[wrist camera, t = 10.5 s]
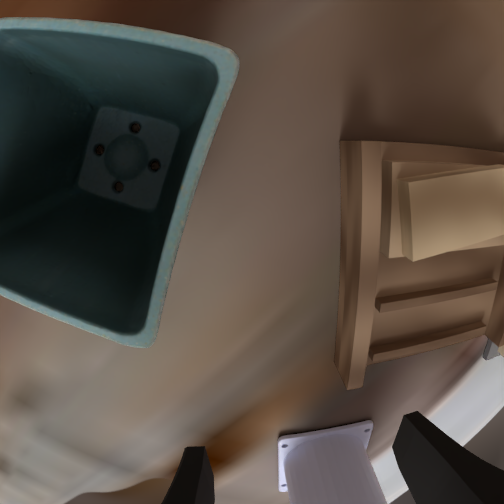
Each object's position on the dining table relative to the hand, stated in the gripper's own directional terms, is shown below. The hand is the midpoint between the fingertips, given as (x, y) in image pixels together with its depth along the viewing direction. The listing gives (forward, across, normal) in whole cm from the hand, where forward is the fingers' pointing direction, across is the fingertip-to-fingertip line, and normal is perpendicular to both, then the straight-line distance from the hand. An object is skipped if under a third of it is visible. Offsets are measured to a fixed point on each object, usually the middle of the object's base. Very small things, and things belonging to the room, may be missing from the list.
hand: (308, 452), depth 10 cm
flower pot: (+10, +7, -10) cm, 16 cm away
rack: (+10, -11, -3) cm, 15 cm away
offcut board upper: (+8, -10, -7) cm, 15 cm away
